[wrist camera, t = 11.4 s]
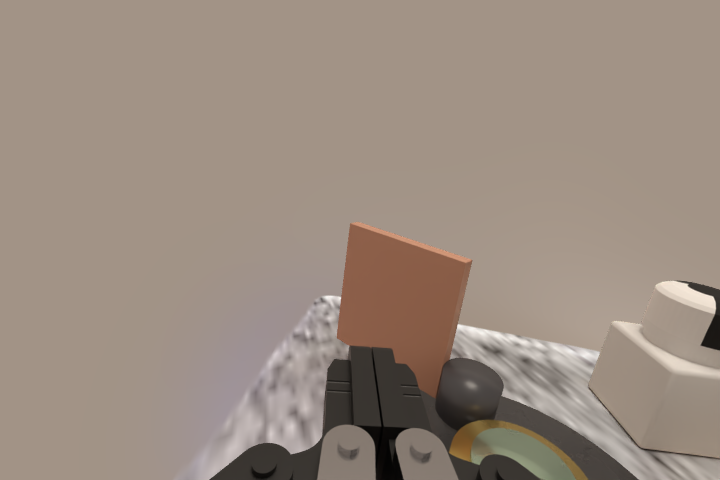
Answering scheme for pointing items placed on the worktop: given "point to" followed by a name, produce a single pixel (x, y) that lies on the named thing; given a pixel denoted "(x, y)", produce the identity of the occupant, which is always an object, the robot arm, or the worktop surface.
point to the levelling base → (545, 429)
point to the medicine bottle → (666, 371)
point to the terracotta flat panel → (415, 318)
